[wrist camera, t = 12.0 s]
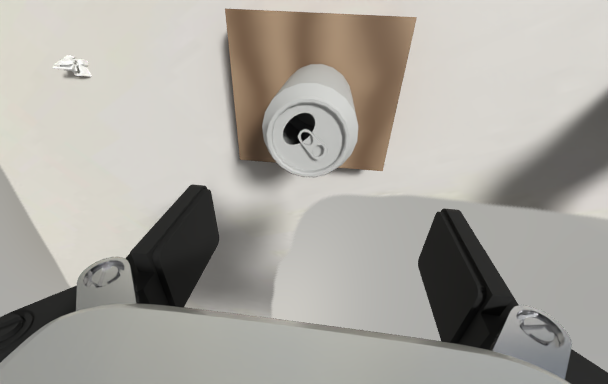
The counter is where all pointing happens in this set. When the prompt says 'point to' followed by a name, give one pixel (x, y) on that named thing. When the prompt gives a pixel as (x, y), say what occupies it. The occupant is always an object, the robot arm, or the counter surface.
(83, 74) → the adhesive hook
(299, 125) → the can
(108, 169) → the counter surface
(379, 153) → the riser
